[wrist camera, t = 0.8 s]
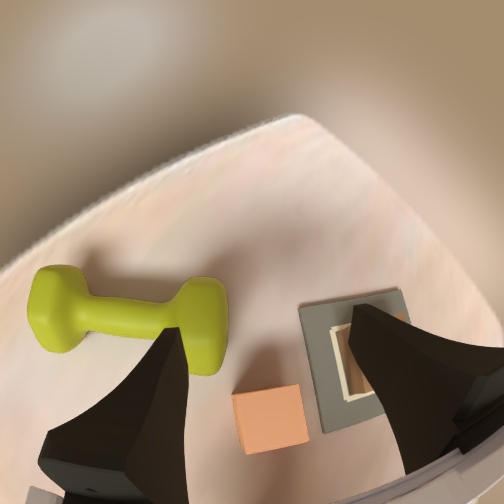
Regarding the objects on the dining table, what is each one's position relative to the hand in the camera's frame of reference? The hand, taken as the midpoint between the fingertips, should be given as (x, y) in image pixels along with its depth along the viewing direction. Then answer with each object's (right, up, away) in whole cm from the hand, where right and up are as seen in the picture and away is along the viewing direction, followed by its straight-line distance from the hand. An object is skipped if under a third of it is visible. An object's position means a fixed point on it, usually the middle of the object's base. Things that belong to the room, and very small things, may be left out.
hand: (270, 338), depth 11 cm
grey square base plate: (+10, -7, +14) cm, 18 cm away
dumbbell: (-11, -3, +13) cm, 17 cm away
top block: (0, -10, +10) cm, 15 cm away
